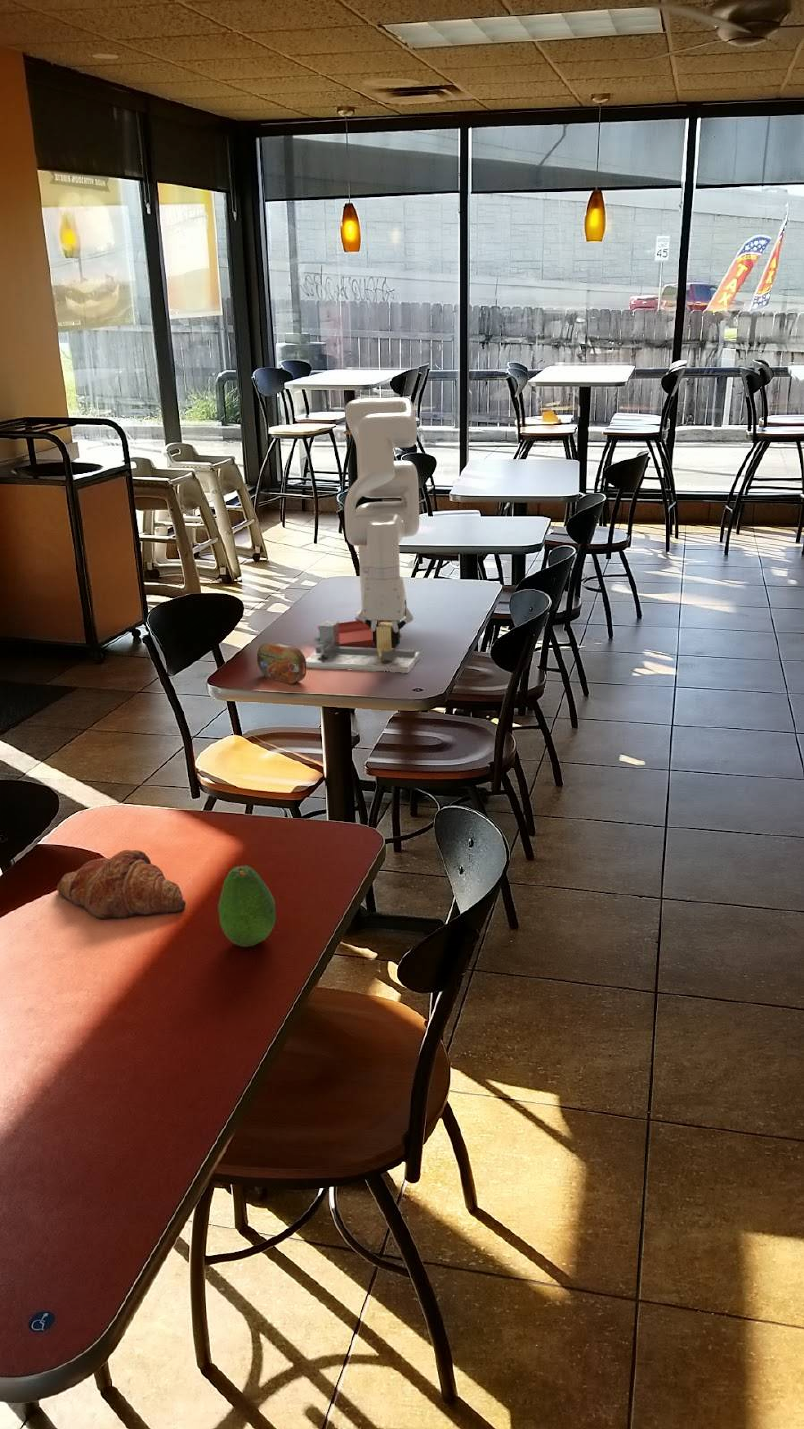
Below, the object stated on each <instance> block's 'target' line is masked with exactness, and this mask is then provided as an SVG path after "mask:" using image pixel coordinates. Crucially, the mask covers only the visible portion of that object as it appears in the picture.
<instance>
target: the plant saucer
mask: <svg viewBox="0 0 804 1429" xmlns="http://www.w3.org/2000/svg"><path fill="white" fill-rule="evenodd" d="M381 622H386V621H379V624H380V623H381ZM316 628H317V630H319V625H318V626H316ZM402 636H403V634H402V633H401V632H400V638H401V637H402ZM339 640H340V645H339V646H341V647H362V648H373V647H374V648H376V647H375V643H373V631H371V628H370V627H369V626H368V625H367V624H366V623H365V622H363V621H361V620H359V619H357V620H354V621H353V620H352V621H345V622H339Z"/></svg>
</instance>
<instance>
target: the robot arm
mask: <svg viewBox="0 0 804 1429" xmlns="http://www.w3.org/2000/svg"><path fill="white" fill-rule="evenodd" d="M344 413H345V414H344V416H345V420H346V423H347V426H348V429H349V431H350V433H351V435H352V437H353V440H354V443H355V446H356V464H357V465H356V466H357V468H356V469H357V479H356V480H355V481H354V482H353V484H352V485H351V487H350V488H349V490H348V492H347V495H346V497H345V502H344V506H343V507H344V528H345V529H344V530H345V537H346V539H347V541H348V543H349V544H350V545H352V546H355V547H358V558H359V560H358V561H359V563H358V564H359V582H360V583H359V584H360V605H361V606H360V607H361V609H360V610H357V611H356V613H355V618H356V619H357V620H361V621H363V622H365V623H366V624H367V625H368V626H369V627H370V628H371V631H373V643H375V647H374V648H377V633H376V627H377V626H378V625H379V621H386V622H392V624H393V632H392V648H394V649H397V647H398V646H399V645H400V642H401V637H400V633H401V632H400V631H401V629H403V627H404V626H406V625H408V624H409V623H411V622H412V621H414V619H415V618H414V616H413V615H412V613H411V611H410V610H409V608H408V602H407V595H406V588H405V583H404V579H403V578H404V577H402V576H401V568H400V567H401V566H400V543H401V541H402V540H403V538H408V537H412V536H415V535H417V533H418V532H419V529H420V501H419V500H420V498H419V496H420V495H419V494H420V493H419V492H420V491H419V490H420V489H419V488H420V487H419V475H418V474H419V473H418V471H417V467H416V465H415V464H414V463H413V462H412V461H409V460H395V456H394V454H395V453H394V452H395V451H394V449H397V448H400V449H401V448H411V447H413V446H415V444H416V442H417V440H418V439H417V438H418V425H417V424H418V423H417V418H416V412H415V408H414V404H413V402H412V401H411V399H409V398H407V397H377V398H376V397H371V398H370V397H369V398H359V399H358V398H357V399H353V400H351V401H350V400H349V402H348V403H347V404H346V405H345V408H344ZM362 497H365V498H367V499H368V498H369V499H382V498H384V499H386V498H399V499H401V501H399V500H398V501H374V502H373V501H372V502H366V503H363V504H360V505H358V506H357V503H358V501H359V500H360V499H361V498H362ZM356 506H357V507H356ZM404 617H405V618H404Z"/></svg>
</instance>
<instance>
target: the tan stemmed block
mask: <svg viewBox="0 0 804 1429" xmlns="http://www.w3.org/2000/svg"><path fill="white" fill-rule="evenodd" d="M392 632H393V624H392V621H387V622H381V623H380V624H379V625H378V626H377V627H376V633H377V647H376V648H377V651H378V654H379V660H382V651H392V650H393V649H395V648H392Z"/></svg>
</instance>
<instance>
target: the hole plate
mask: <svg viewBox="0 0 804 1429" xmlns="http://www.w3.org/2000/svg"><path fill="white" fill-rule="evenodd" d="M339 623H340V621H338V620H337V621H336V620H335V621H334V620H324V621H323V622H321V623H320V624H319V625H318V626H319V629H318V631H319V632H318V633H319V644H318V645H316V646H315V650H314V651H313V652H311V654H310V655H309V656H308V657H307V658H305V659H306V669H319V670H320V669H322V670H337V669H351V670H350V671H357V670H365V671H364V672H376V671H384V672H383V673H395V672H401V673H400V674H409V673H410V672H411V671H412V668H414V666H415V665H416V664H417V663H418V661H419V660H420V659H421V655H420V654H421V652H420V651H416V649H403V648H402V649H401V648H394V649H393V650H392V651H382V660H379V654H378V651H377V647H374V648H362V647H341V646H339V645H340V640H339ZM415 663H416V664H415ZM385 671H387V672H385ZM388 671H390V672H388Z"/></svg>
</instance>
